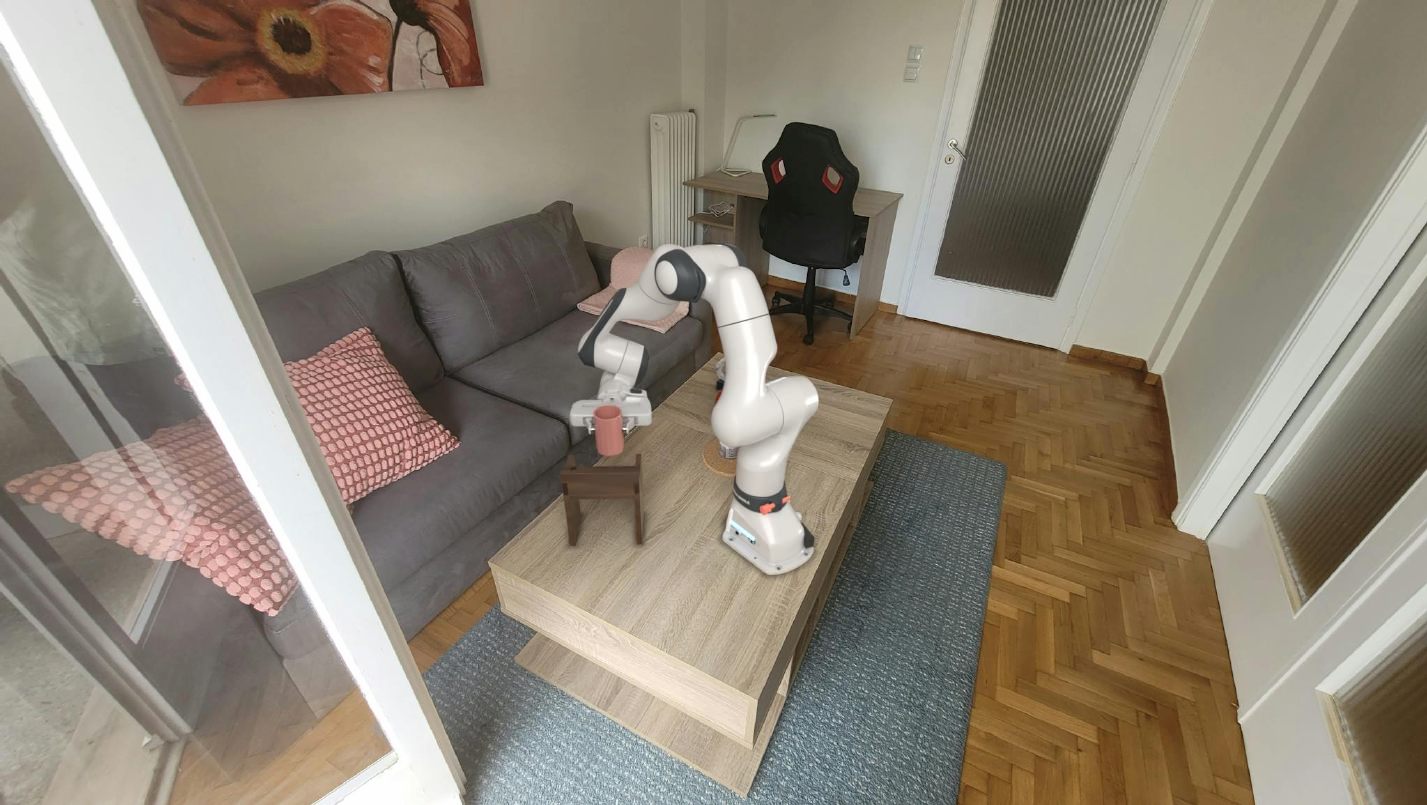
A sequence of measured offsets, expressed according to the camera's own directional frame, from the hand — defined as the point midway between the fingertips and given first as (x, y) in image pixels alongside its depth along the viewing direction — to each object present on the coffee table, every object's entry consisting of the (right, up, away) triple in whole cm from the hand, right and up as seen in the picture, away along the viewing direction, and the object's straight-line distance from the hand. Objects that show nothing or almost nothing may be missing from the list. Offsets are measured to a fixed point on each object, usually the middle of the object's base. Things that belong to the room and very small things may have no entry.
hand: (608, 431), depth 140 cm
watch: (+29, +12, +57) cm, 65 cm away
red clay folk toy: (+29, +3, +43) cm, 52 cm away
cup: (0, -4, +4) cm, 6 cm away
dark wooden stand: (0, -23, -1) cm, 23 cm away
